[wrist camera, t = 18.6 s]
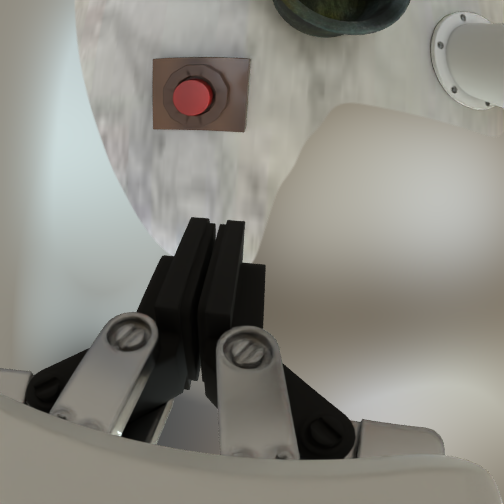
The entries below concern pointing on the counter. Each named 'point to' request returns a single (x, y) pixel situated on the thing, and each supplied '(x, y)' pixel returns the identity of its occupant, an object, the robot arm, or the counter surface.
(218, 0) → the counter surface
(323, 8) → the mug
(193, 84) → the button
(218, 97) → the control block
